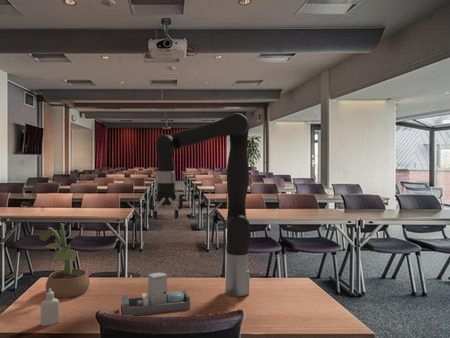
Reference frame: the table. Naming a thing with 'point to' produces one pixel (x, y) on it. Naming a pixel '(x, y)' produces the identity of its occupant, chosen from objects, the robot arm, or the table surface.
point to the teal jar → (175, 297)
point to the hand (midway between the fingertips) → (165, 219)
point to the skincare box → (157, 288)
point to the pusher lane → (133, 309)
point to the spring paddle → (143, 300)
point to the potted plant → (65, 269)
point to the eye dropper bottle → (49, 309)
